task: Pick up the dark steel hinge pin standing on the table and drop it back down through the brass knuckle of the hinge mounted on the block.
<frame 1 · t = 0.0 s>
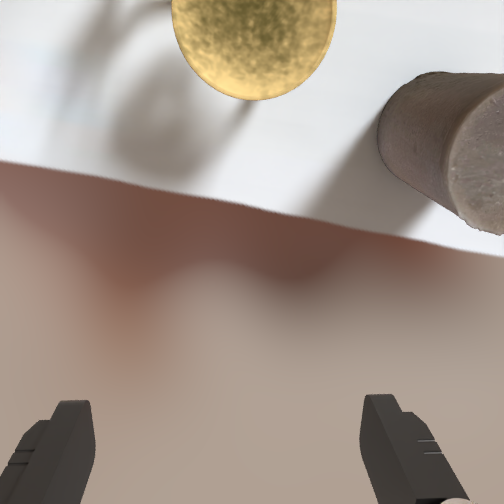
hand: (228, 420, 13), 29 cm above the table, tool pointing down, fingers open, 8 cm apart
wall sconce: (223, 11, 36), on the table
pillar candle: (429, 132, 40), on the table
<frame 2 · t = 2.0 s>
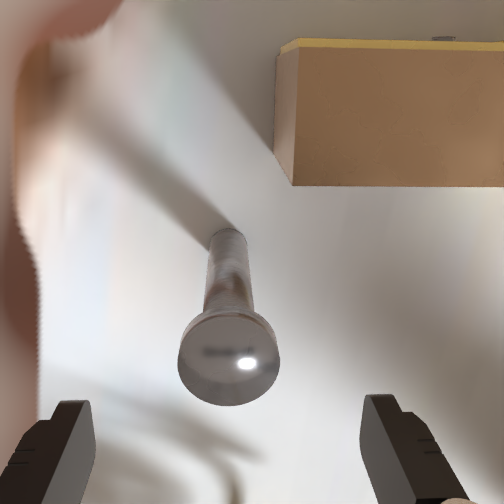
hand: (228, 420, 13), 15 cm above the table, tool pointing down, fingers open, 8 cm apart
hinge pin: (228, 246, 27), on the table
hinge block: (499, 110, 25), on the table
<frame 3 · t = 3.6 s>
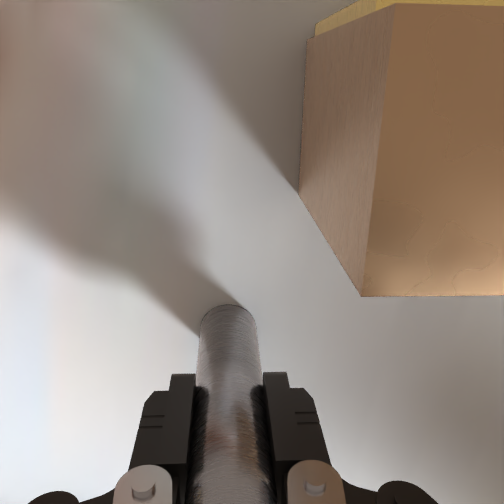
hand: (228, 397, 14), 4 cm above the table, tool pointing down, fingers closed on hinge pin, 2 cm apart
hinge pin: (228, 329, 18), on the table, touching gripper
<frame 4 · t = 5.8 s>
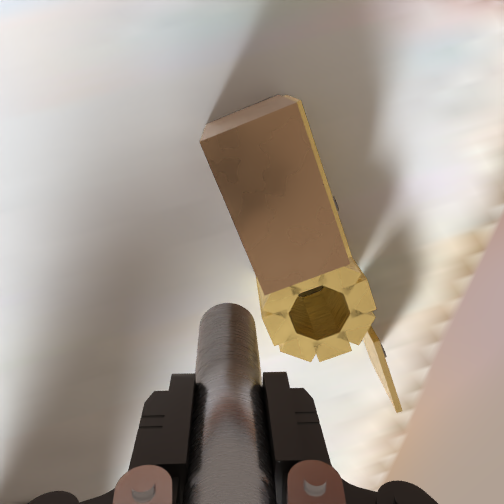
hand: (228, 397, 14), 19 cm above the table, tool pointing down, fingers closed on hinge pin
hinge pin: (227, 327, 18), point 15 cm above the table, touching gripper
hinge block: (304, 273, 34), on the table
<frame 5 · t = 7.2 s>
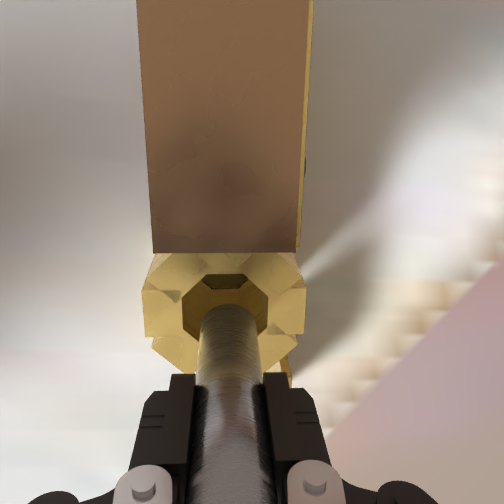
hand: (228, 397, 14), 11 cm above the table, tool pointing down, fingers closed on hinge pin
hinge pin: (228, 328, 18), point 7 cm above the table, touching gripper
hinge block: (224, 259, 25), on the table
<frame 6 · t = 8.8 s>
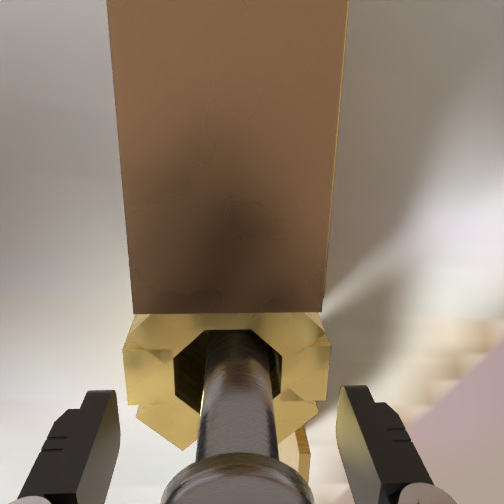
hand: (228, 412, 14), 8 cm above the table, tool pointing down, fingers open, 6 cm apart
hinge pin: (237, 295, 21), resting in hinge block
hinge block: (227, 295, 21), on the table
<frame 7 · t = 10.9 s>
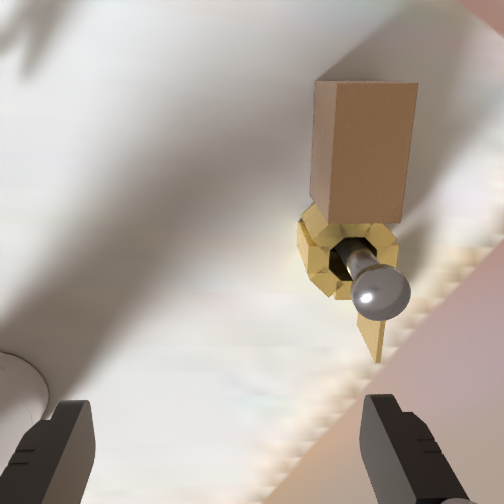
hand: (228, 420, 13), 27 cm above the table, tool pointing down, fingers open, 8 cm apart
hinge pin: (341, 233, 40), resting in hinge block
hinge block: (336, 233, 40), on the table
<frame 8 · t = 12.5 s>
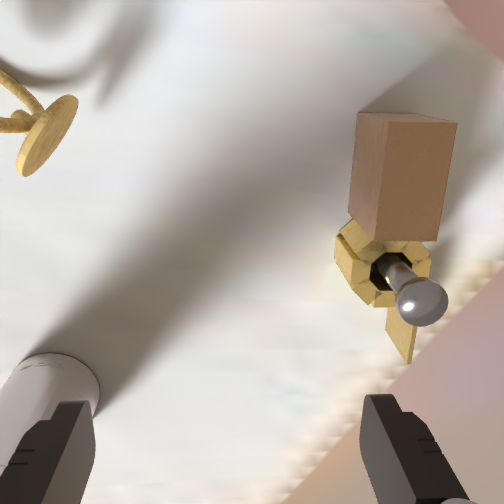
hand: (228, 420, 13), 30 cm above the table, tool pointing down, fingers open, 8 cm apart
hinge pin: (374, 246, 44), resting in hinge block
wall sconce: (4, 75, 37), on the table
hinge block: (369, 246, 44), on the table
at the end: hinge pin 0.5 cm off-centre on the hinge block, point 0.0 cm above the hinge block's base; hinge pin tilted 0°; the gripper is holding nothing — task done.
